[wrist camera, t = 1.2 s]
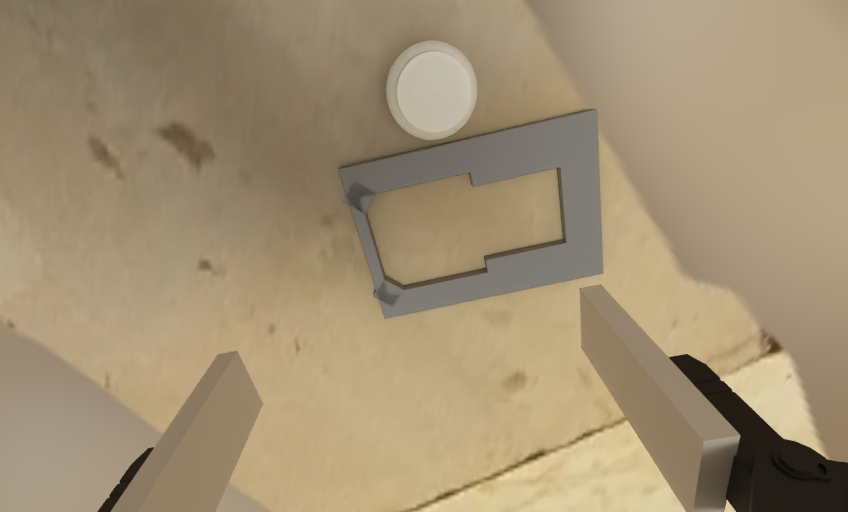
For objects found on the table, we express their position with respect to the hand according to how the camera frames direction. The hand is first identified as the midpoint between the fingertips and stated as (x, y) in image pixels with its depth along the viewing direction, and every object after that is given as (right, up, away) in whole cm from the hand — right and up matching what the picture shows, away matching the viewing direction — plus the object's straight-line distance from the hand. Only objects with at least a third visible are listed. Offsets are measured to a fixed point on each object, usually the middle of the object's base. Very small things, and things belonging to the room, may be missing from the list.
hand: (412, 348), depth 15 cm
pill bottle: (+1, +16, +14) cm, 21 cm away
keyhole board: (+5, +6, +18) cm, 20 cm away
